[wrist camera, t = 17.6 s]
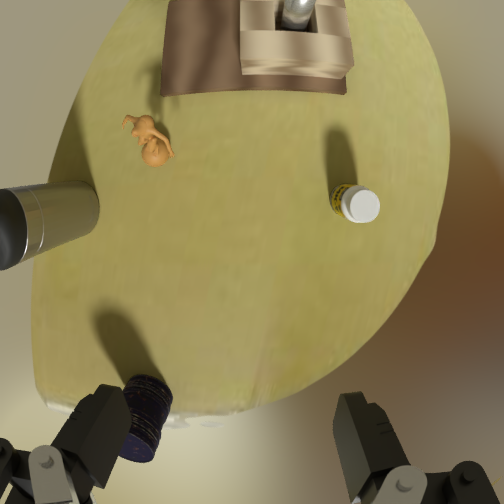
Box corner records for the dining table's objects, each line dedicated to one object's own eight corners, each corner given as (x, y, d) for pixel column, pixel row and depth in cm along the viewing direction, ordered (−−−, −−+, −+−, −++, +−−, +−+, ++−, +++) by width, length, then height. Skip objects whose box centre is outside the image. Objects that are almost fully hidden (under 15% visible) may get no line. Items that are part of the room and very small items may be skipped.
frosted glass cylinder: (279, 44, 32) (288, -4, 20) (278, 27, 32) (286, -23, 19) (302, 46, 32) (320, -1, 20) (301, 28, 32) (317, -20, 19)
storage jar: (181, 408, 50) (165, 464, 35) (141, 410, 51) (119, 461, 36) (160, 371, 48) (135, 428, 33) (119, 376, 48) (88, 426, 34)
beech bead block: (242, 74, 34) (240, 58, 28) (242, 2, 30) (240, -19, 25) (341, 79, 34) (354, 65, 28) (332, 7, 30) (341, -12, 24)
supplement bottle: (332, 180, 39) (351, 181, 31) (362, 187, 39) (386, 190, 31) (326, 213, 40) (343, 221, 32) (355, 219, 40) (378, 229, 32)
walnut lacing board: (163, 96, 36) (160, 94, 34) (171, 6, 31) (168, 1, 30) (343, 94, 36) (346, 92, 34) (332, 3, 31) (335, -1, 30)
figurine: (132, 151, 38) (90, 145, 26) (153, 117, 37) (118, 98, 25) (175, 179, 39) (144, 180, 28) (198, 144, 38) (175, 131, 26)
